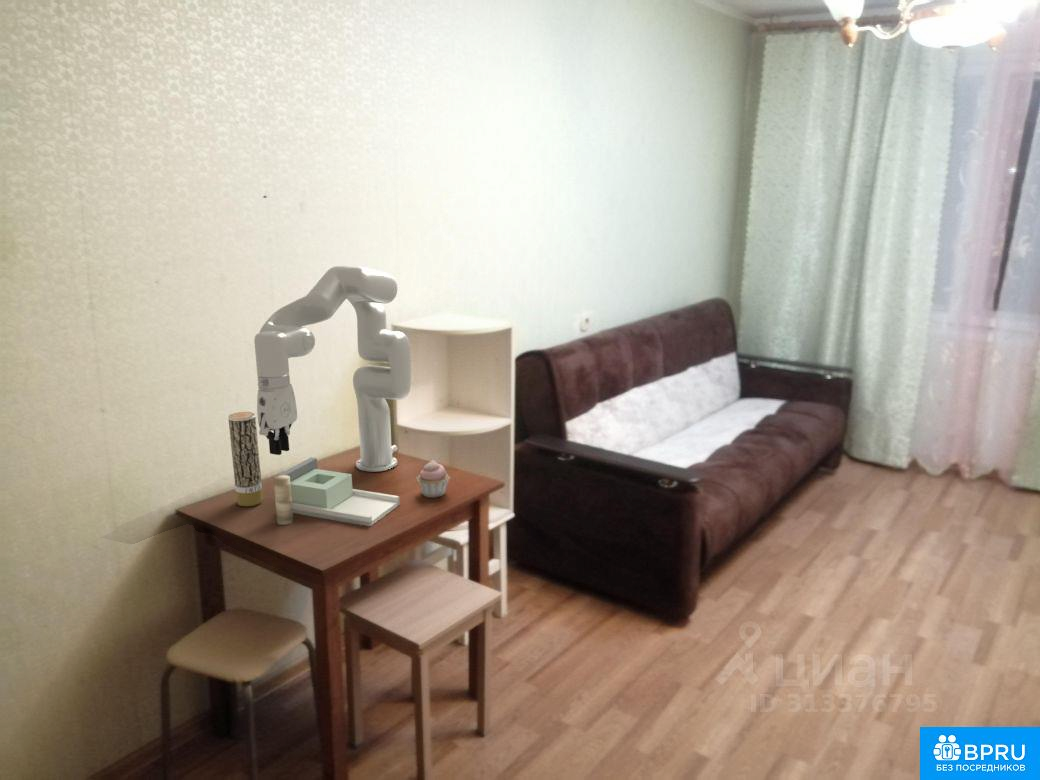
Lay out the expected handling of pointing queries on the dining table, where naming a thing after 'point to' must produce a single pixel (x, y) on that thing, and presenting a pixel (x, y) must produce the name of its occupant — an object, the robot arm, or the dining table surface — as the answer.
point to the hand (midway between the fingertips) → (279, 451)
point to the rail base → (345, 502)
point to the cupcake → (433, 480)
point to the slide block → (321, 488)
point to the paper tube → (245, 458)
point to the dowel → (283, 500)
